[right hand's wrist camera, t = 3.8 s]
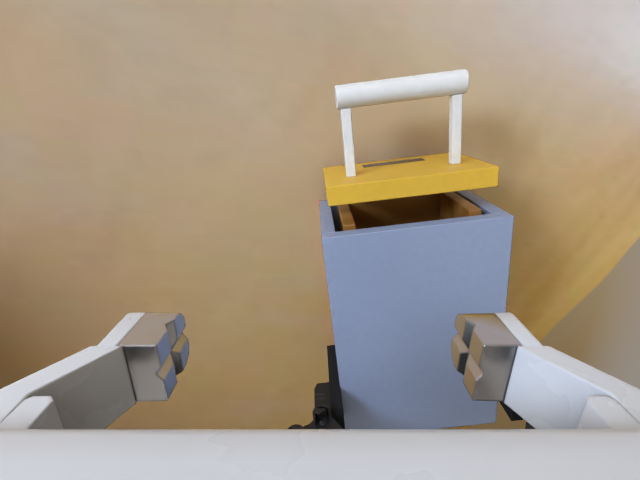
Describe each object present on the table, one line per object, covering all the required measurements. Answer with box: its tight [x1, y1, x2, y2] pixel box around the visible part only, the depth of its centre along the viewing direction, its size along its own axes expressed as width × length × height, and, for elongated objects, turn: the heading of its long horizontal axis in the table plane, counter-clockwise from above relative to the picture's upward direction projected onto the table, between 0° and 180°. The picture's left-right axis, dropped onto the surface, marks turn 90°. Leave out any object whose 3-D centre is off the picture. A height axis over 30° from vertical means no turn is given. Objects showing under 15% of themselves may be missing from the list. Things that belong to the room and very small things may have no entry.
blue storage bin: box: [319, 190, 514, 429], centre depth 28 cm, size 16×11×9 cm
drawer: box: [323, 69, 499, 231], centre depth 25 cm, size 21×10×7 cm, turn 7°
